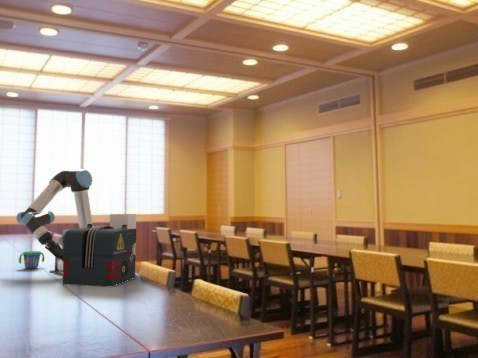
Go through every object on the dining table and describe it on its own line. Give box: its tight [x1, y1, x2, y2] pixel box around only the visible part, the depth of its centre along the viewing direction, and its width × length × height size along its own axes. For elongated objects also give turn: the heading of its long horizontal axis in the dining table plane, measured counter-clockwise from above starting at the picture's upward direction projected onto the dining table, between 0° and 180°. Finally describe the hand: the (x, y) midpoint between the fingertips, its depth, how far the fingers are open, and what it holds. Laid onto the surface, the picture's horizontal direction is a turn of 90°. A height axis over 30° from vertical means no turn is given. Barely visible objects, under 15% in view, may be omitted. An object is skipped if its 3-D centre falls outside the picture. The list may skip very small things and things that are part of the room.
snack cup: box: [18, 250, 45, 270], centre depth 300 cm, size 16×10×10 cm
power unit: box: [62, 224, 137, 287], centre depth 254 cm, size 28×28×30 cm
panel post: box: [49, 256, 63, 274], centre depth 285 cm, size 8×8×12 cm
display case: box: [109, 213, 137, 256], centre depth 283 cm, size 11×11×35 cm
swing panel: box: [57, 258, 63, 270], centre depth 277 cm, size 21×2×7 cm, turn 48°
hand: (70, 266), depth 271 cm, fingers closed
